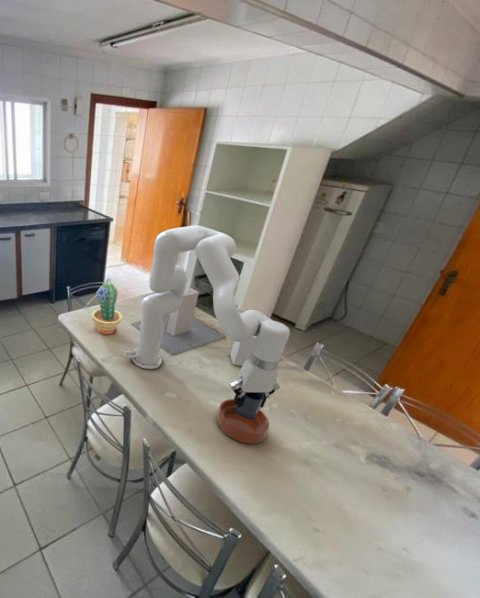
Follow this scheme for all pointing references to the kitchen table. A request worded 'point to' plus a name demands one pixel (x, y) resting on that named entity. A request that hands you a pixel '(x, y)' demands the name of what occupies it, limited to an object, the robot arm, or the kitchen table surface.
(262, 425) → the bowl
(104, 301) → the potted cactus
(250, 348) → the milk carton
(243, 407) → the cup
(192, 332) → the grey base with block
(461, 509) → the kitchen table surface
